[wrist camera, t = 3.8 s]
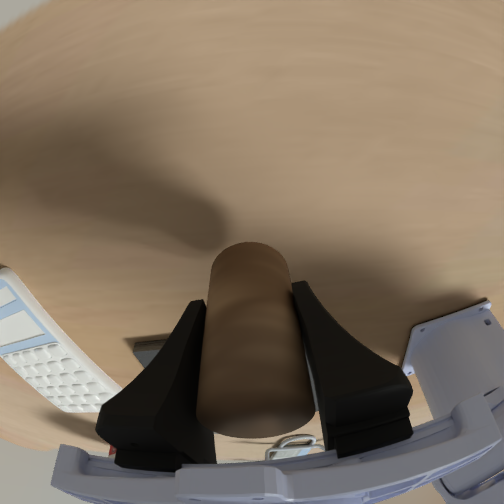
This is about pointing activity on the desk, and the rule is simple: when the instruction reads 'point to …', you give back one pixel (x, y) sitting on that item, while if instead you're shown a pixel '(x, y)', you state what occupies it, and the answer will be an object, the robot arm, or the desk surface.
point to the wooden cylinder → (252, 348)
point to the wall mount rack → (292, 448)
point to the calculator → (47, 352)
